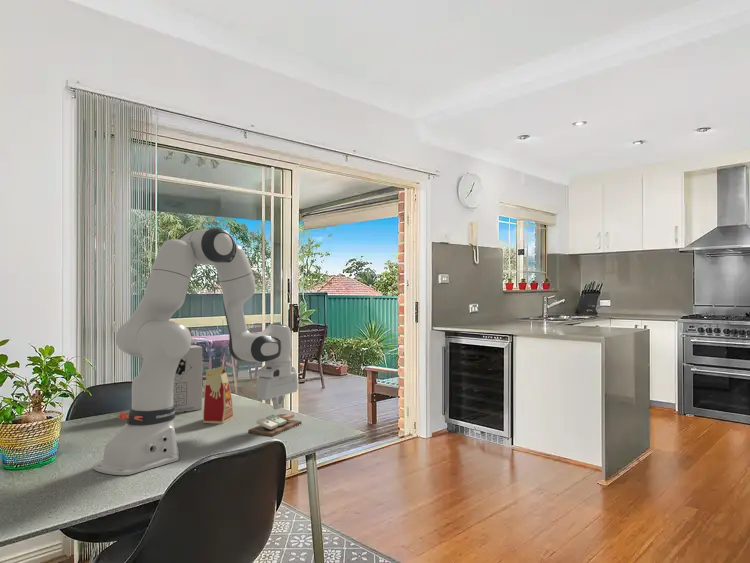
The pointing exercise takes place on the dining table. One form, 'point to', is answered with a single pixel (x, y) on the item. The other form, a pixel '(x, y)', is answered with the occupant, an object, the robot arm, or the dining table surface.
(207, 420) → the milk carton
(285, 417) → the three-dot tile
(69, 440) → the dining table surface
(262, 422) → the one-dot tile
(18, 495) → the dining table surface
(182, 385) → the cereal box
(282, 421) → the two-dot tile
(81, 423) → the dining table surface
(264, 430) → the brown flat board
